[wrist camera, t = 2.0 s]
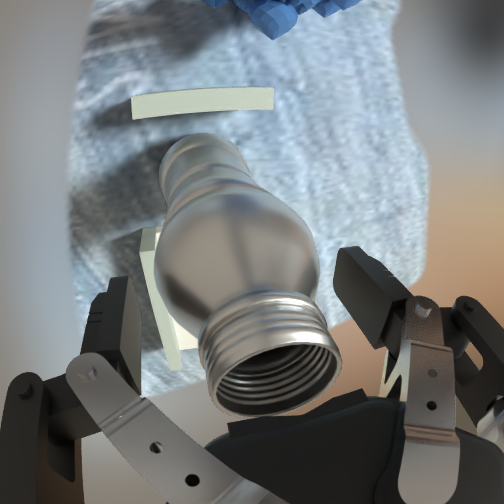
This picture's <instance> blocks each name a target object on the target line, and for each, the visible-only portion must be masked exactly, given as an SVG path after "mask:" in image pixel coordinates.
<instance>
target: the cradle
mask: <svg viewBox="0 0 504 504" xmlns="http://www.w3.org/2000/svg"><path fill="white" fill-rule="evenodd" d="M162 227H163V226H157V227H149V228H143V231H142V237H141V244H140V251H139V253H140V257H141V262H142V267H143V271H144V275H145V280H146V284H147V288H148V292H149V296H150V300H151V304H152V308H153V311H154V315H155V319H156V322H157V326H158V330H159V333H160V337H161V340H162V343H163V347H164V350H165V353H166V357H167V360H168V363H169V366H170V369H171V371H174V370H182V364H181V355H180V350H183V349H191V348H198V344H197V343H198V339H196V338H195V337H194V336H193V335H191V334H190V333H189V332H188V331H186V330H185V329H184V328H183V327H182V326H180V325H179V324H178V323H177V322H176V321H175V320H174V318H173V317H172V316H171V315H170V314H169V312H168V310H167V308H166V306H165V304H164V302H163V300H162V298H161V296H160V294H159V292H158V290H157V287H156V283H155V278H154V258H155V252H156V246H157V243H158V239H159V236H160V233H161V230H162Z"/></svg>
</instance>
